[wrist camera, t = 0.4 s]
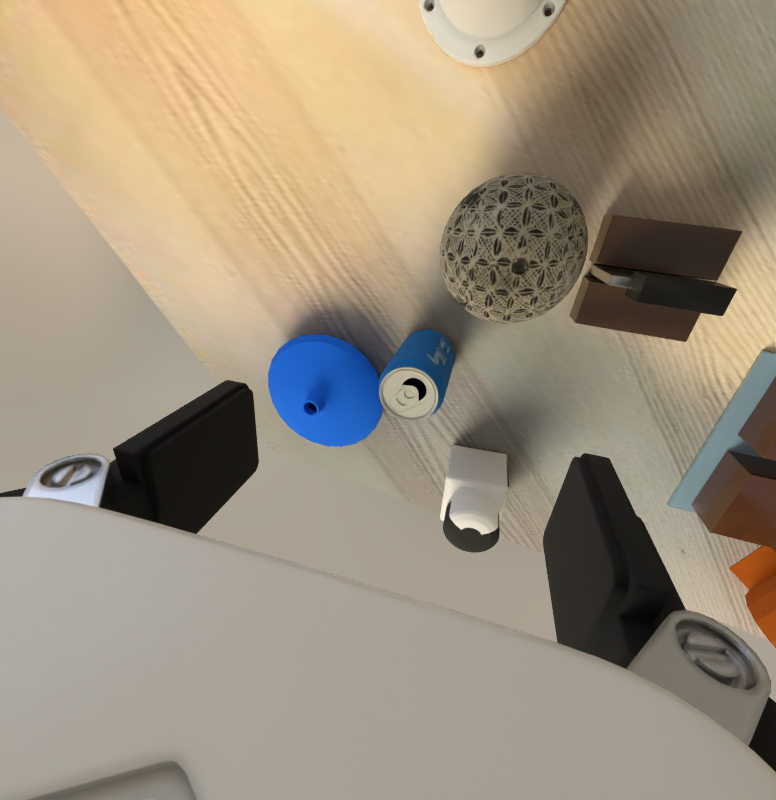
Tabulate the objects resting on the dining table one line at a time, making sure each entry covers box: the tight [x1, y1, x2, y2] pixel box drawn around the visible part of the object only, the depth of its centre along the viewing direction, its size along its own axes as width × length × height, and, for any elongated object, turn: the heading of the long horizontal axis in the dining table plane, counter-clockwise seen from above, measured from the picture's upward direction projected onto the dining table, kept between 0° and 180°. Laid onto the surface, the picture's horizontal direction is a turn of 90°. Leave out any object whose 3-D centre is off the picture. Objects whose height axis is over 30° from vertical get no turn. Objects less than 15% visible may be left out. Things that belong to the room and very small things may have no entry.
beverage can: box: [379, 329, 455, 422], centre depth 40 cm, size 6×6×12 cm
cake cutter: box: [590, 265, 737, 316], centre depth 32 cm, size 2×9×10 cm, turn 83°
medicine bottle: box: [440, 445, 509, 552], centre depth 46 cm, size 7×7×12 cm
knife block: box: [570, 215, 742, 342], centre depth 35 cm, size 10×10×3 cm
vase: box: [268, 334, 383, 447], centre depth 48 cm, size 16×16×7 cm
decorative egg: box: [440, 173, 588, 324], centre depth 32 cm, size 12×12×15 cm
